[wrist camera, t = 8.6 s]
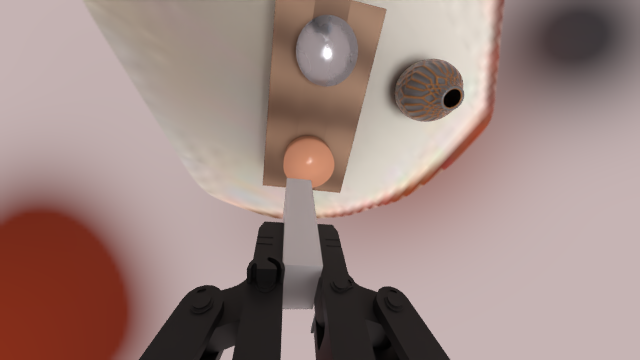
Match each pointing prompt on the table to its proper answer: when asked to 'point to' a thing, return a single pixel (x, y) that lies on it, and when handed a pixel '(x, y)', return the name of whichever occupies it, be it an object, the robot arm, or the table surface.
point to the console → (316, 87)
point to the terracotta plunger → (309, 160)
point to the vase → (429, 90)
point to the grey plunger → (327, 50)
